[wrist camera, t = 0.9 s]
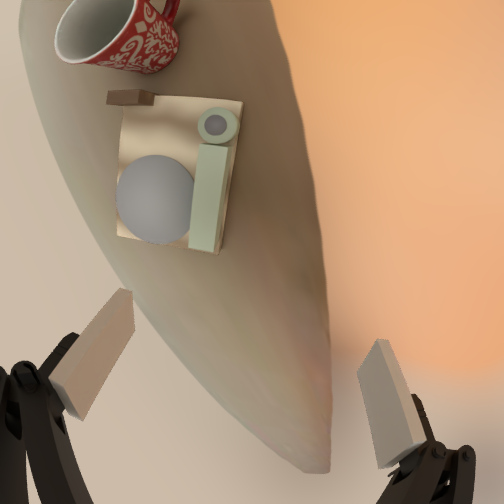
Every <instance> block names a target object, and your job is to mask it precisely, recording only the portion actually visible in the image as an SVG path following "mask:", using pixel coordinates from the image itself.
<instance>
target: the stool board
mask: <svg viewBox="0 0 504 504" xmlns="http://www.w3.org/2000/svg"><path fill="white" fill-rule="evenodd" d="M106 104H110V105H120V106H124V110H123V118H122V126H121V135H120V145H119V158H118V175H117V184H118V181H119V178H120V176H121V174H122V173H123V171H124V170H125V169H126V168H127V166H128V165H130V164H131V163H132V162H133V161H135V160H137V159H139V158H141V157H144V156H148V155H162V156H166V157H169V158H172V159H174V160H176V161H177V162H179V163H180V164H181V165H182V166H184V167H185V168H186V170H187V171H188V172H189V173H190V175H191V176H192V178H193V180H194V182H195V174H196V166H197V158H198V151H199V144H202V143H209V142H207V141H205V140H204V139H203V138H202V137H201V136H200V134H199V131H198V121H199V118H200V116H201V115H202V114H203V113H204V112H205V111H206V110H208V109H210V108H213V107H222V108H225V109H227V110H229V111H230V112H232V113H234V114H235V115H236V116H237V118H238V119H239V122H240V123H241V118H242V112H243V107H244V103H243V102H239V101H231V100H222V99H212V98H200V97H184V96H162V95H159V94H155V93H151V92H148V91H144V90H140V89H136V90H115V91H108V95H107V101H106ZM238 135H239V133H238V134H237V136H236V137H235V138H234V139H233V140H231V141H229V142H225V143H219V144H220V145H227V146H233V147H232V153H231V159H230V165H229V172H228V178H227V185H226V192H225V198H224V205H223V212H222V220H221V227H220V234H219V242H218V244H217V246H216V248H215V250H214V252H208V251H203V250H198V249H193V248H188V243H189V231H190V230H189V231H188V232H187V233H186V234H185V235H184V236H183V237H181V238H180V239H178V240H176V241H174V242H171V243H167V244H163V245H168V246H174V247H179V248H184V249H189V250H194V251H200V252H205V253H210V254H215V255H219V252H220V250H221V246H222V239H223V232H224V224H225V217H226V211H227V204H228V197H229V191H230V184H231V178H232V171H233V165H234V159H235V153H236V147H237V141H238ZM212 144H213V143H212ZM117 235H118V236H123V237H128V238H133V239H138V240H141V239H139V238H138V237H136V236H135V235H134V234H132V233H131V232H130V231H129V230H128V228H127V227H126V226H125V225H124V223H123V222H122V220H121V218H120V215H119V213H118V210H117Z"/></svg>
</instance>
